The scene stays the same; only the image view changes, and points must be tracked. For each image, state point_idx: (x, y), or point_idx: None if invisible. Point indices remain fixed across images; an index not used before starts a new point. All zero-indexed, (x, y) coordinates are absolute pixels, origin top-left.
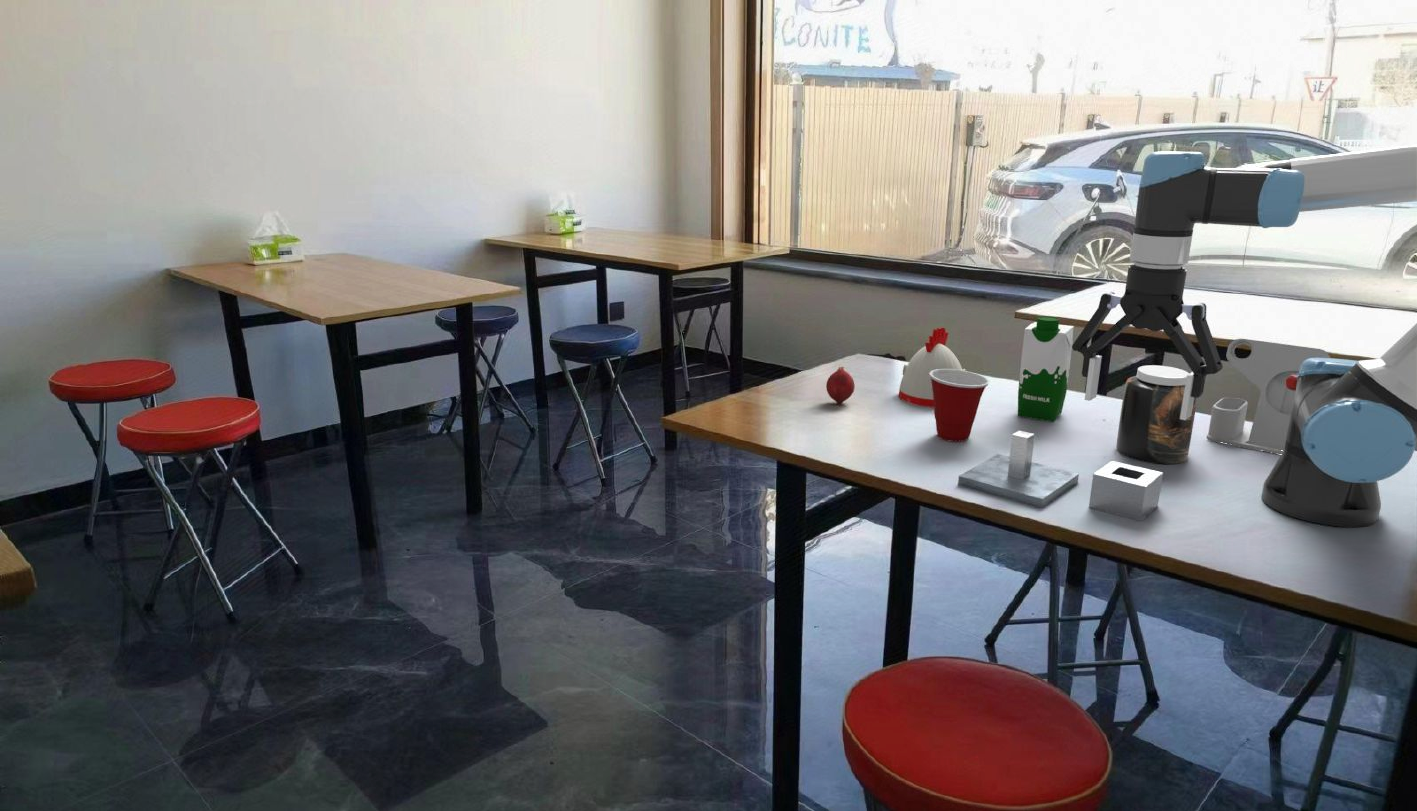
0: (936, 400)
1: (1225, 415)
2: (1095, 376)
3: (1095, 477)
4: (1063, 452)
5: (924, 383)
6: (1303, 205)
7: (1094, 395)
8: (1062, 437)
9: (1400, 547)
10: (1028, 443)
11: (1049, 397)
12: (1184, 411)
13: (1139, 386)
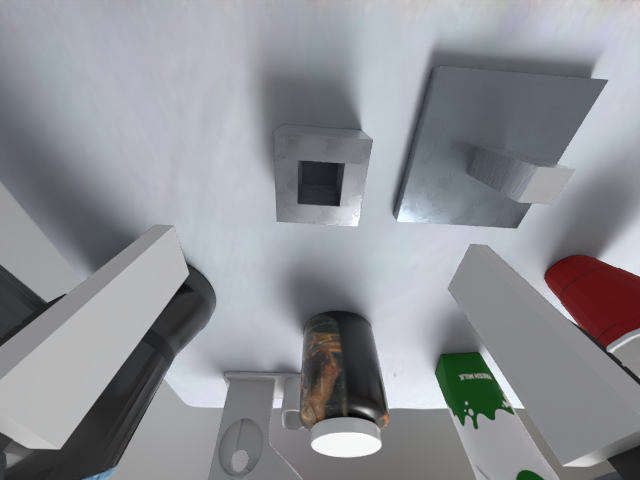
0: None
1: (291, 403)
2: (515, 332)
3: (366, 138)
4: (422, 293)
5: None
6: None
7: (458, 282)
8: (428, 327)
9: (54, 241)
10: (522, 170)
11: (461, 381)
12: (142, 240)
13: (368, 407)
